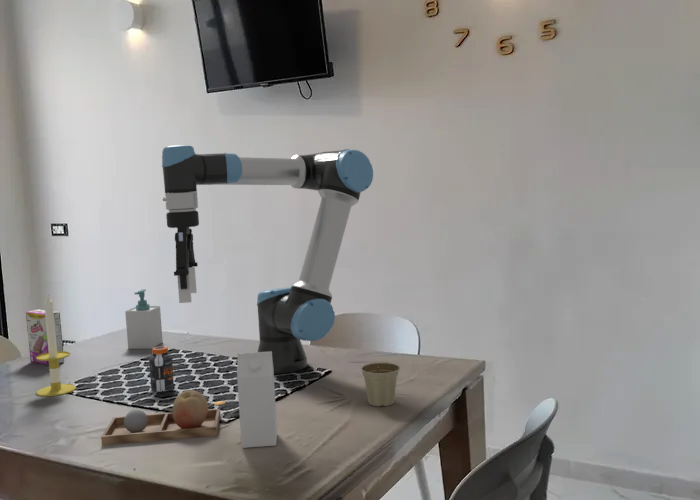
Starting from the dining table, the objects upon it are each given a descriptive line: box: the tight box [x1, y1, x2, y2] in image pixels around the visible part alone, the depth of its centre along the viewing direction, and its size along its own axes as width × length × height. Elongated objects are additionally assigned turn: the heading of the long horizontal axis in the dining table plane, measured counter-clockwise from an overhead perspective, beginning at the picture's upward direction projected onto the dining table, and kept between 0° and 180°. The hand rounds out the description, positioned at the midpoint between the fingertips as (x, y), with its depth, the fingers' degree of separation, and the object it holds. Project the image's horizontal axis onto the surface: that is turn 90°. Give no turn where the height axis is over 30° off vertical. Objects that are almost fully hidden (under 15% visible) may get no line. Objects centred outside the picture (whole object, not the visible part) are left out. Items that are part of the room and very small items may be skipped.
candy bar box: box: [25, 308, 65, 366], centre depth 221 cm, size 11×5×16 cm, turn 58°
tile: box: [213, 400, 227, 406], centre depth 172 cm, size 10×7×1 cm
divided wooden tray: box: [100, 408, 221, 446], centre depth 155 cm, size 24×12×2 cm, turn 97°
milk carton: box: [236, 351, 278, 449], centre depth 146 cm, size 7×7×19 cm
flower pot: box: [360, 362, 401, 407], centre depth 168 cm, size 9×9×9 cm
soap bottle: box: [124, 289, 163, 350], centre depth 238 cm, size 9×9×19 cm
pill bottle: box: [148, 345, 175, 393], centre depth 187 cm, size 6×6×11 cm
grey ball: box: [124, 409, 148, 433], centre depth 154 cm, size 5×5×5 cm
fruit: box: [171, 389, 209, 429], centre depth 155 cm, size 8×8×8 cm
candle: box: [36, 292, 77, 398], centre depth 189 cm, size 10×10×27 cm
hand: (188, 297), depth 171 cm, fingers open, 13 cm apart
